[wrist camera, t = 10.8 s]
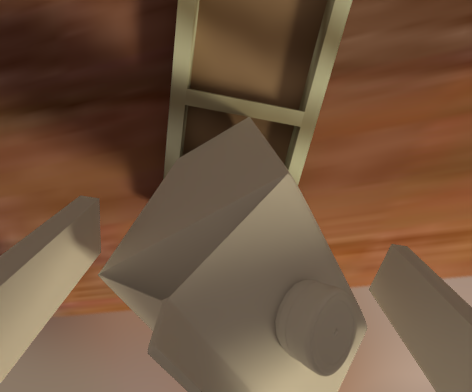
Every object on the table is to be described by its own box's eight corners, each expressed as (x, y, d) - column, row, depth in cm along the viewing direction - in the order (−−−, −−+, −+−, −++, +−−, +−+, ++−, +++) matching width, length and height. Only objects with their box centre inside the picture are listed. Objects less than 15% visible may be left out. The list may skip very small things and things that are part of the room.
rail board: (192, -75, 19) (186, -104, 16) (347, -35, 20) (368, -55, 17) (167, 207, 28) (159, 221, 25) (276, 223, 29) (281, 239, 26)
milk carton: (219, 221, 25) (201, 541, 7) (177, 158, 22) (-3, 418, 5) (286, 186, 24) (454, 469, 6) (249, 115, 21) (355, 256, 4)
